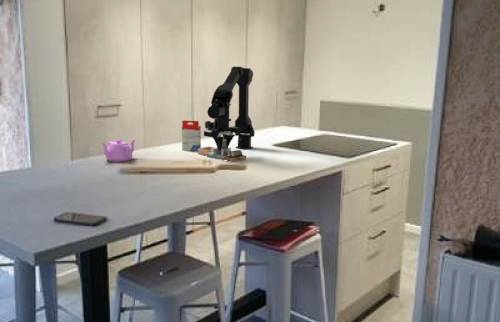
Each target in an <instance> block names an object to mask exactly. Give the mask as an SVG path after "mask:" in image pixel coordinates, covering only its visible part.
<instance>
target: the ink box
mask: <svg viewBox="0 0 500 322" xmlns="http://www.w3.org/2000/svg"><path fill="white" fill-rule="evenodd" d="M199 123H200V122H199V121H198V120H182V123H181V125H182V126H181V151H189V152H198V148H202V145H201V142H202V141H201V140H202V139H201V138H202V137H201V135H202V132H201V131H202V129H201V125H200V124H199Z"/></svg>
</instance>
